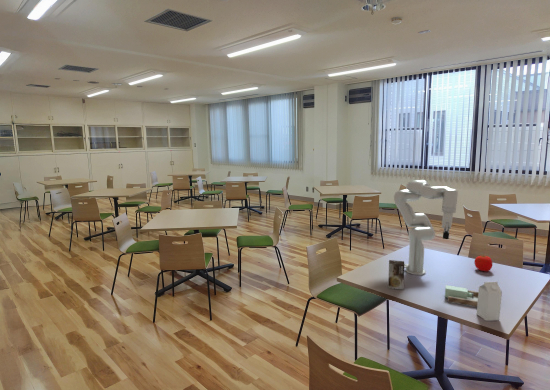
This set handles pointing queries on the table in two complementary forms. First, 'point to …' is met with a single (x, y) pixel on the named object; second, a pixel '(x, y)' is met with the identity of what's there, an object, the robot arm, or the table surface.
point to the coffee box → (396, 274)
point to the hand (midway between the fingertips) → (445, 238)
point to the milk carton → (489, 301)
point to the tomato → (483, 263)
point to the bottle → (457, 292)
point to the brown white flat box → (465, 300)
